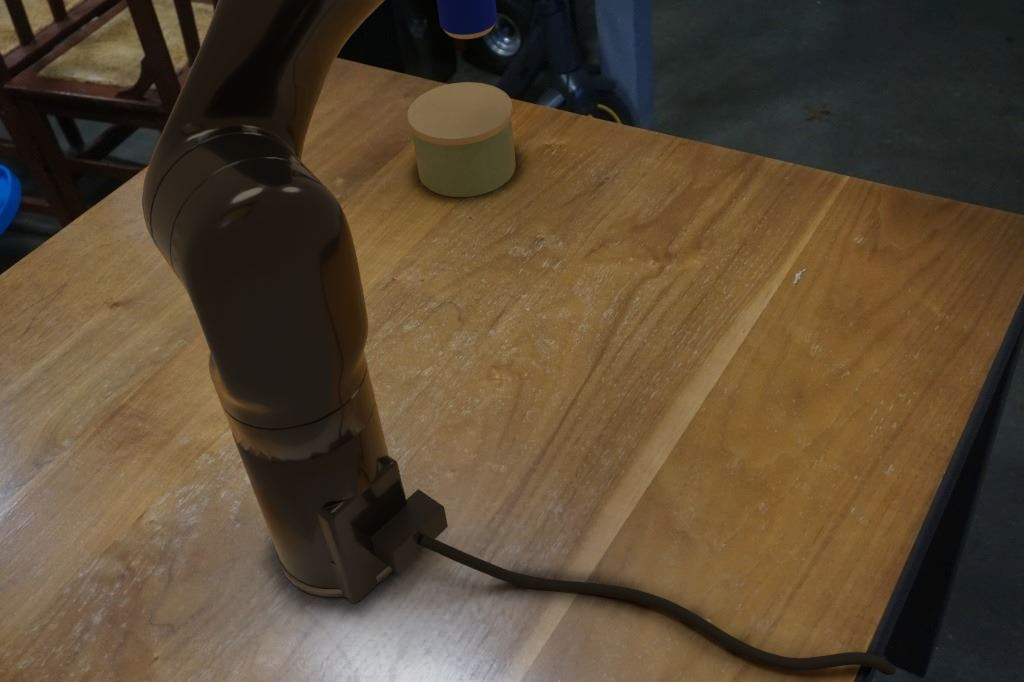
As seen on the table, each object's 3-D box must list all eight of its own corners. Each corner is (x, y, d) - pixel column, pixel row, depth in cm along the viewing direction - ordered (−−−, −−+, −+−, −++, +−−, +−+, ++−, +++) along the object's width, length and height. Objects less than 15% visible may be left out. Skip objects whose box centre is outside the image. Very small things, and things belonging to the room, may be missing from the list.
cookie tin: (538, 161, 113) (533, 101, 108) (470, 211, 108) (462, 150, 103) (464, 130, 118) (457, 71, 114) (396, 176, 113) (385, 117, 108)
